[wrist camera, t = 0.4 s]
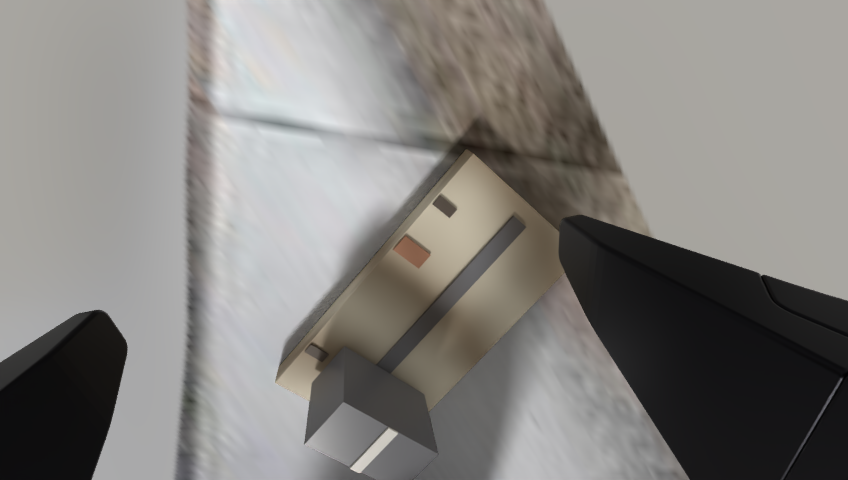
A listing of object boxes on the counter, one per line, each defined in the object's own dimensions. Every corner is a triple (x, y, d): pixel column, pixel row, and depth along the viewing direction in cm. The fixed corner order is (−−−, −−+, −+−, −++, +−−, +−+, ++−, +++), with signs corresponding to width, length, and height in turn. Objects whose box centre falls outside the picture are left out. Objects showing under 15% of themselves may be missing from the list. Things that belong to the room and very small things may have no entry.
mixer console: (392, 429, 30) (395, 449, 28) (278, 366, 26) (274, 384, 25) (570, 244, 27) (584, 254, 25) (466, 148, 23) (474, 154, 22)
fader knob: (392, 427, 27) (400, 493, 23) (311, 382, 25) (304, 446, 21) (424, 394, 26) (438, 456, 22) (344, 345, 24) (343, 403, 20)
